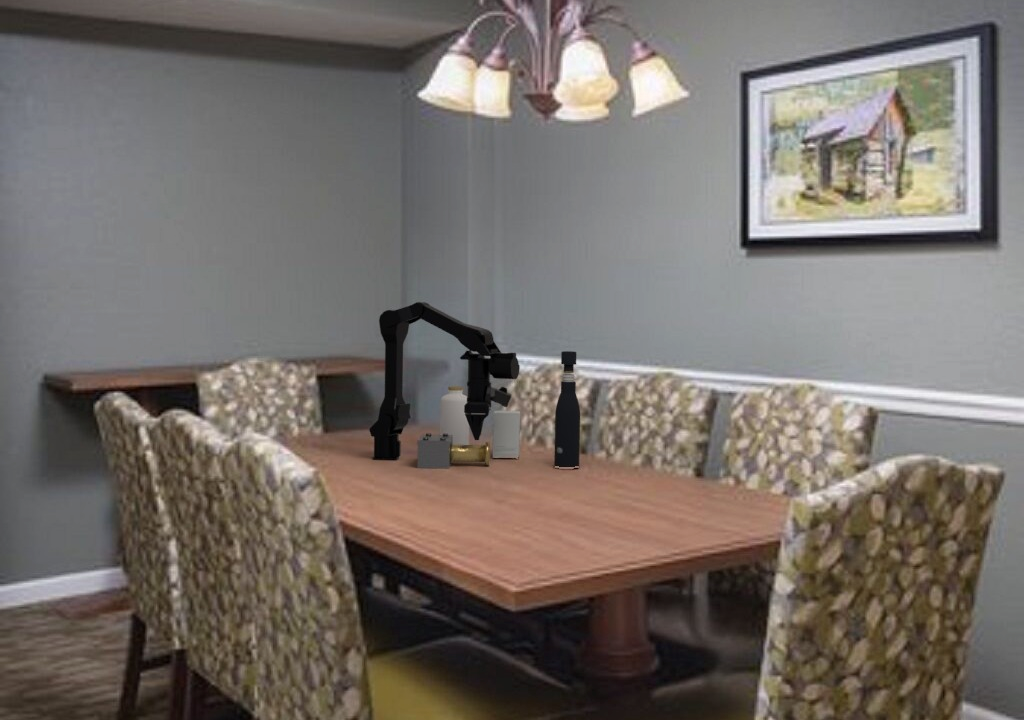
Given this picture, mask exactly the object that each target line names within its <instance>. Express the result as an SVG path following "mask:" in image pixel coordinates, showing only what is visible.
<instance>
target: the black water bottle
mask: <svg viewBox="0 0 1024 720" xmlns="http://www.w3.org/2000/svg"><path fill="white" fill-rule="evenodd" d="M560 358H561V359H560V365H563V374H562V376H561V377H562V378H561V381H560V394H559V396H558V399H557V402H556V407H555V410H554V411H555V412H554V415H555V416H554V417H555V418H554V457H553V458H554V461H553V463H554V465H555V466H559V467H575V466H579V467H580V446H581V445H580V443H581V440H580V439H581V438H580V437H581V409H580V408H581V407H580V402H579V400H578V396H577V391H576V387H577V386H576V385H577V384H576V382H577V381H575V380H576V379H575V378H576V376H575V374H573V373H574V372H575V371H574V365H577V351H570V350H569V351H568V350H565V351H561V356H560ZM554 465H553V466H554Z"/></svg>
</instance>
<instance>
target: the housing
mask: <svg viewBox="0 0 1024 720" xmlns="http://www.w3.org/2000/svg"><path fill="white" fill-rule="evenodd" d="M450 444H453V435H448V434H443V435H440V434H432V433H429V432H427V433H425V434H421V435H420V437H418V439H417V469H437V468H449V467H450V468H451V466H450V465H452V464H451V463H453V462H452V461H450ZM450 468H449V469H450Z"/></svg>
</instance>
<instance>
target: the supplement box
mask: <svg viewBox="0 0 1024 720" xmlns="http://www.w3.org/2000/svg"><path fill="white" fill-rule="evenodd" d="M492 423H493V424H492V458H493V457H495V458H498V457H519V458H520V447H521V446H520V443H521V410H494V411H493V421H492Z"/></svg>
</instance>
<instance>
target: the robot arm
mask: <svg viewBox="0 0 1024 720" xmlns="http://www.w3.org/2000/svg"><path fill="white" fill-rule="evenodd" d="M420 320H423V321H425V322H427V323H428V324H431V325H432V326H434V327H436V328H438V329H440V330H442V331H444V332H445V333H447V334H449V335H451V336H453V337H454V338H456V339H457V340H458V342H459V343H460V344H462V346H464V347H465V348H466V349H467V350H466V351H465V352H464V353H463V354H462V355H461V356H460V357H459V359H460V360H462V361H464V360H465V361H467V382H466V386H467V391H466V392H467V395H466V396H467V403H466V404H465V405H464V413H465V416H466V418H467V421H468V424H469V430H470V432H471V433H472V437H473V438H474V441H479V440H480V436H482V432H483V427H484V421H485V419H486V418H487V417H488V416H489V413H490V411H491V408H492V402H494V403H496V404H499V405H501V406H502V407H505V408H507V407H508V406H509V404H510V401H511V398H512V394H511V393H509V392H508V388H506V387H504V386H501V387H500V388H495V387H492V382H491V376H492V377H493V379H498V380H499V379H500V380H501V379H502V380H503V379H504V380H517V379H518V376H519V374H520V369H521V367H520V363H519V360H518V358H517V353H516V352H502V351H501V349H500V348H499V347H498V345H497V343H496V342H495V340H494V335H493V333H492V331H490V330H489V329H487V328H484V327H481V326H476V325H472V324H468V323H465V322H462V321H460V320H459V319H457V318H455V317H454V316H451V315H449V314H448V313H446V312H443V311H442V310H440V309H437V308H436V307H434V306H431V305H430V304H429V303H428V302H426V301H425V302H423V301H418V302H414V303H413V304H410V305H407V306H404V307H401V308H399V309H387V310H385V311H383V312H382V313H381V314H380V316H379V318H378V324H379V331H380V335H381V337H382V340H383V341H384V397H383V399H382V402H381V404H380V407H379V411H378V417H377V420H376V422H374V423H373V425H371V426H370V428H369V429H368V430H369V433H370V436H371V438H372V437H373V457H372V460H394V461H395V460H398V459H399V458H400V457H401V456H402V454H401V452H402V448H401V447H402V445H401V444H402V441H401V439H399V438H400V437H399V436H400V435H402V433H403V430H404V428H405V427H406V426H407V425H408V423H409V420H410V419H411V415H410V409H411V403H410V402H409V403H406V402H405V399H404V397H403V396H404V395H403V378H404V375H403V374H404V371H403V370H404V367H403V366H404V364H403V363H404V343H405V340H406V338H407V336H408V333H409V327H410V325H411V324H414V323H416V322H418V321H420ZM475 352H476V353H475Z"/></svg>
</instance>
